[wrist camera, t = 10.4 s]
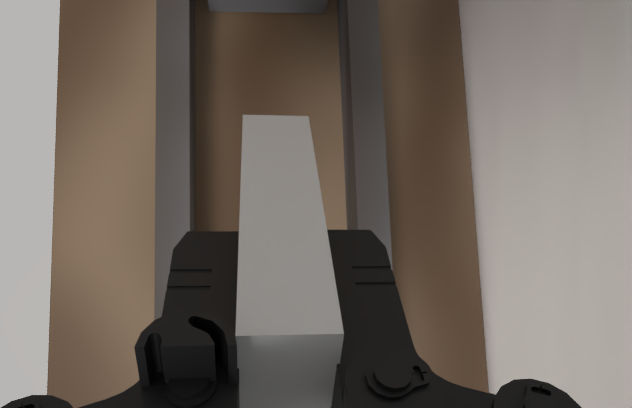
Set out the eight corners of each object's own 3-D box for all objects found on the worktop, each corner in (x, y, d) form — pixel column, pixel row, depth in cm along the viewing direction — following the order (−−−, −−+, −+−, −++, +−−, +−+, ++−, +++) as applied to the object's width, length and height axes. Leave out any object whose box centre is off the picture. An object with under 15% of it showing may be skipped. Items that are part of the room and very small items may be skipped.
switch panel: (431, -165, 24) (461, -242, 21) (480, 506, 20) (527, 548, 17) (79, -184, 23) (48, -270, 19) (58, 539, 19) (14, 593, 15)
